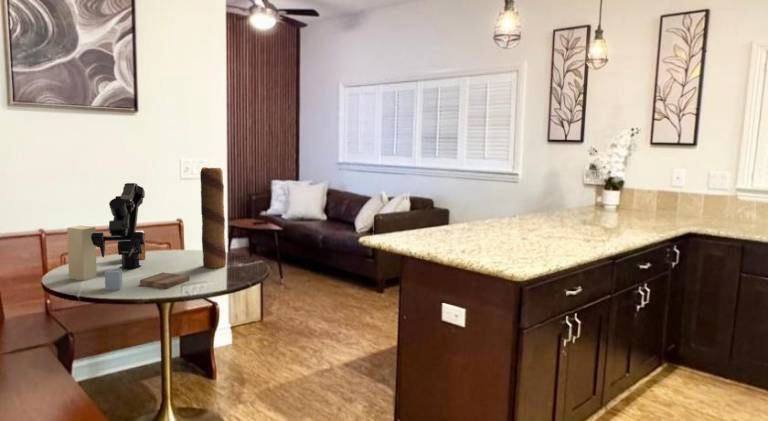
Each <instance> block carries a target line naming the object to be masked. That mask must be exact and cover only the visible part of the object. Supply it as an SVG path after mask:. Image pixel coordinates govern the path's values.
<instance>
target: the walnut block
mask: <svg viewBox="0 0 768 421" xmlns="http://www.w3.org/2000/svg"><path fill="white" fill-rule="evenodd" d="M189 281H190V275H185V274H176V273H172V272H171V273H169V272H160V273H157V274H154V275H150V276H148V277H145V278H142V279H140V280H139V285H140V286H147V287H153V288H160V289H168V290H169V289H171V288H172V287H175V286H178V285H181V284H183V283H186V282H189Z"/></svg>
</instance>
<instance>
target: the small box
mask: <svg viewBox="0 0 768 421" xmlns="http://www.w3.org/2000/svg"><path fill="white" fill-rule="evenodd" d="M136 232H143V234H144V238H145V239H146V232H145V231H144V230H142V229H141V230H136ZM141 247H142V254H138V257H139V261H142V260H146V242H145V243H144V245H141ZM137 251H138V250H137Z"/></svg>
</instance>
